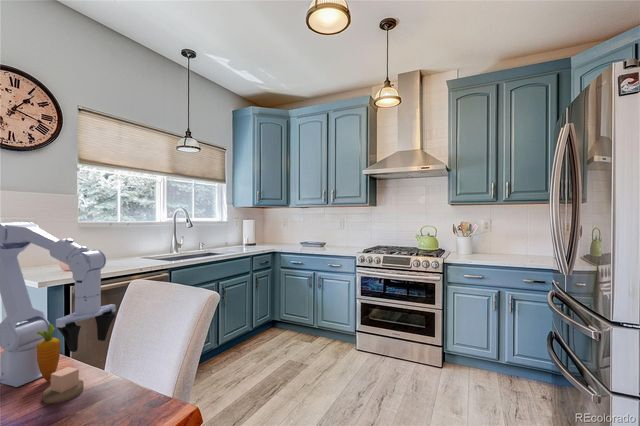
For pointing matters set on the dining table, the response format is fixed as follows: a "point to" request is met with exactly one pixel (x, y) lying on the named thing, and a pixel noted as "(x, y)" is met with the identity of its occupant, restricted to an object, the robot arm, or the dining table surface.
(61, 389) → the tan block
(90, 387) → the dining table surface
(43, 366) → the carrot
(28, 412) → the dining table surface
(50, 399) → the olive round dish
